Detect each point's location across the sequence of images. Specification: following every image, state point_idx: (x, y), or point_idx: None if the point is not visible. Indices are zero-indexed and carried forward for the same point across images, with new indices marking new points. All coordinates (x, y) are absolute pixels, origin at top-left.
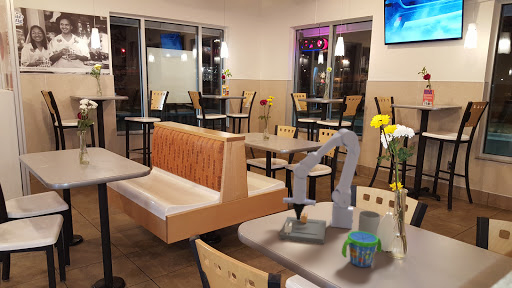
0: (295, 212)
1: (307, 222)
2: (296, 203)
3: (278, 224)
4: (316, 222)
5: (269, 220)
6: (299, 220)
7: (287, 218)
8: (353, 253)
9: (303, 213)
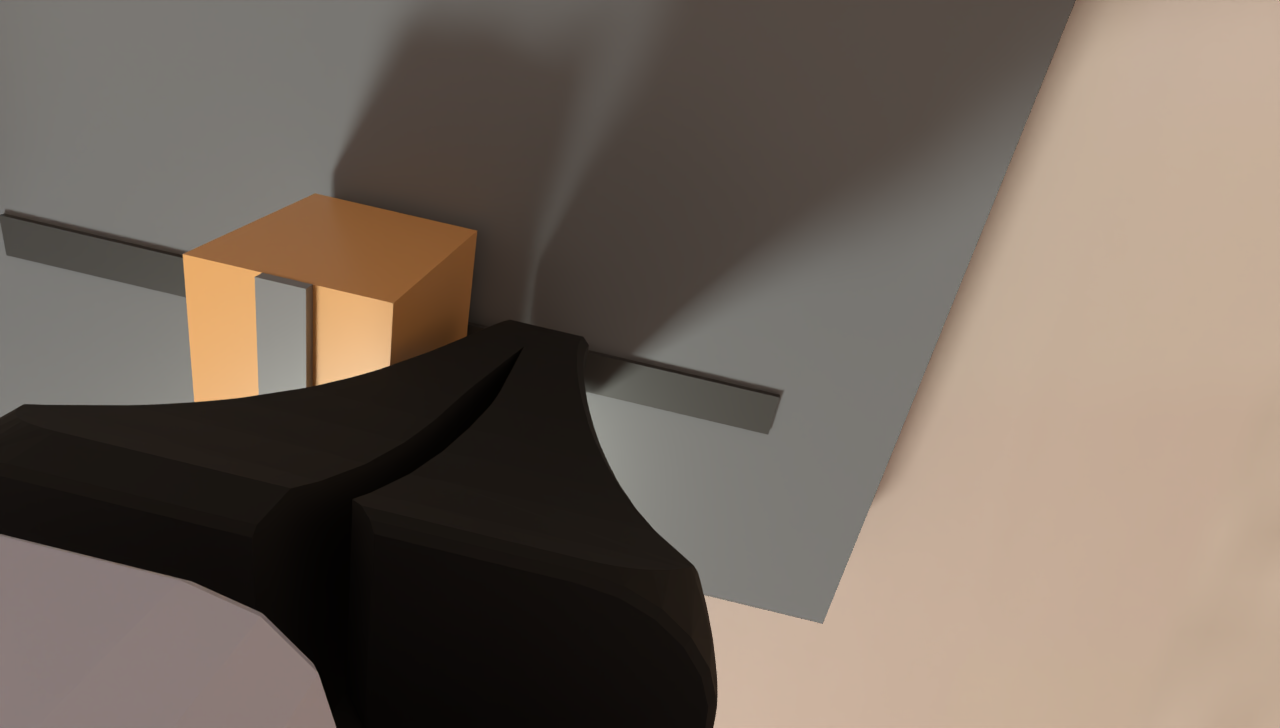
0: (595, 442)
1: None
2: (232, 630)
3: (1090, 343)
4: (74, 269)
5: (1261, 569)
6: None
7: (839, 518)
8: None
9: None
